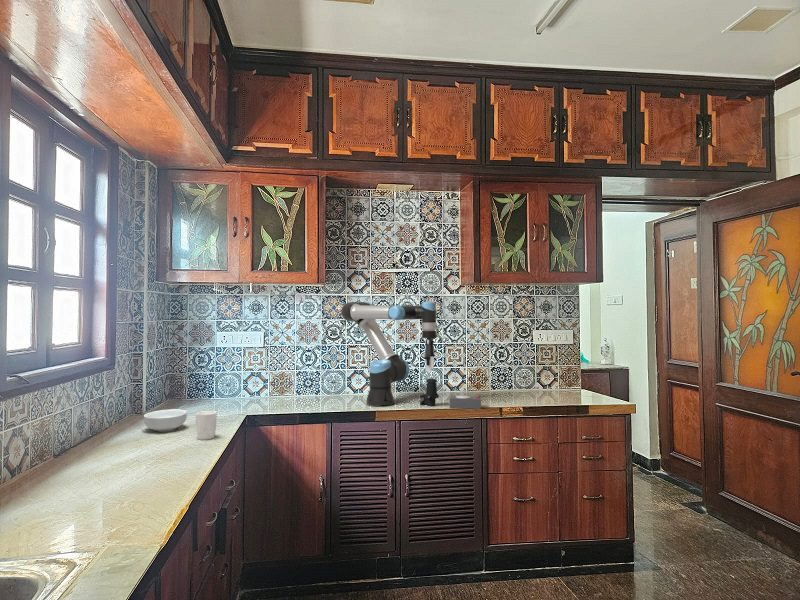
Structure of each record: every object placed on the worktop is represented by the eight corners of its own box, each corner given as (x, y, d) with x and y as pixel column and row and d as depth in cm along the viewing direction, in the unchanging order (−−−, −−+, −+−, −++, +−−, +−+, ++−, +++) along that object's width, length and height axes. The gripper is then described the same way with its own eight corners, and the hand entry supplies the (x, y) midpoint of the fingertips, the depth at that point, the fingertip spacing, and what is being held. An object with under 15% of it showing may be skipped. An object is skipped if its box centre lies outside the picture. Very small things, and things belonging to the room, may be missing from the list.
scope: (424, 377, 270) (441, 379, 266) (424, 403, 270) (441, 404, 265) (418, 379, 263) (435, 381, 258) (418, 405, 263) (435, 407, 258)
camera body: (449, 407, 257) (449, 396, 257) (450, 405, 265) (450, 394, 265) (480, 409, 254) (480, 397, 254) (481, 406, 262) (481, 395, 262)
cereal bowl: (135, 430, 210) (135, 414, 210) (172, 423, 224) (172, 407, 224) (157, 436, 201) (158, 419, 201) (194, 428, 215) (194, 412, 215)
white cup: (198, 441, 193) (198, 415, 194) (193, 437, 200) (193, 412, 200) (219, 438, 198) (219, 413, 198) (213, 434, 204) (213, 409, 205)
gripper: (433, 331, 252) (434, 372, 252) (438, 329, 277) (439, 367, 277) (419, 331, 254) (419, 372, 253) (425, 329, 278) (425, 367, 278)
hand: (429, 370), depth 265 cm, fingers open, 13 cm apart
